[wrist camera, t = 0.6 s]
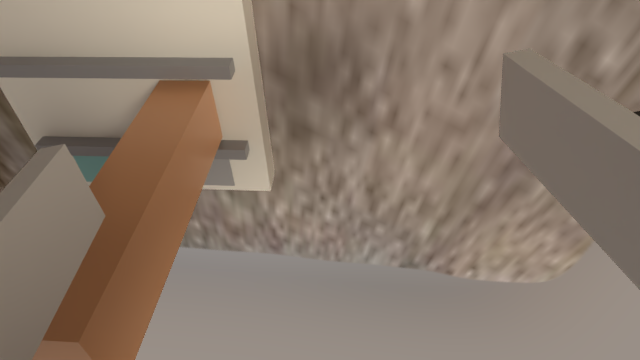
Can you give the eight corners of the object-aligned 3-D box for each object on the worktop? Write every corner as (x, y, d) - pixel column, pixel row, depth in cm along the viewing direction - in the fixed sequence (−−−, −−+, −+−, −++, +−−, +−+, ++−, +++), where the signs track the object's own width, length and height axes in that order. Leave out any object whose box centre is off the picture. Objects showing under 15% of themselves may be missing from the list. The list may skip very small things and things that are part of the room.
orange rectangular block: (159, 80, 26) (-11, 337, 14) (209, 81, 26) (78, 342, 14) (177, 135, 29) (45, 389, 17) (222, 136, 28) (120, 395, 17)
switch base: (-32, -22, 25) (-70, -1, 23) (248, -24, 24) (236, -3, 22) (70, 166, 35) (50, 194, 32) (275, 172, 33) (268, 201, 31)
